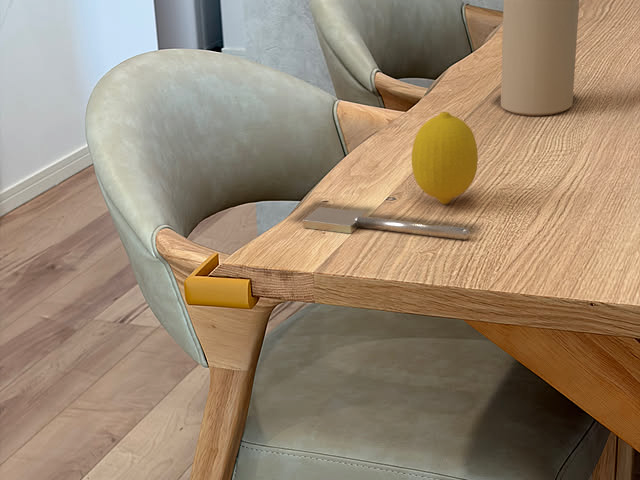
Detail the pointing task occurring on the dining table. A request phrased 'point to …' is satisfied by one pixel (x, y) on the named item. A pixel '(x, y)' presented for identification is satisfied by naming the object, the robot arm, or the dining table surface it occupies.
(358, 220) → the silver knife
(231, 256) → the dining table surface
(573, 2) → the travel mug
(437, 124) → the lemon
